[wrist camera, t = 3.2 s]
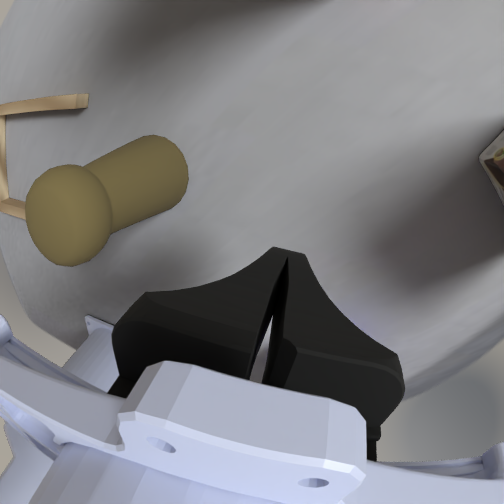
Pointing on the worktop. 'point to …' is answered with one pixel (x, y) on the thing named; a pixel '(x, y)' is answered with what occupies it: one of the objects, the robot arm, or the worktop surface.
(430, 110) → the worktop surface
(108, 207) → the olive pawn
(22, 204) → the wooden u-shaped frame
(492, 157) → the coffee box
